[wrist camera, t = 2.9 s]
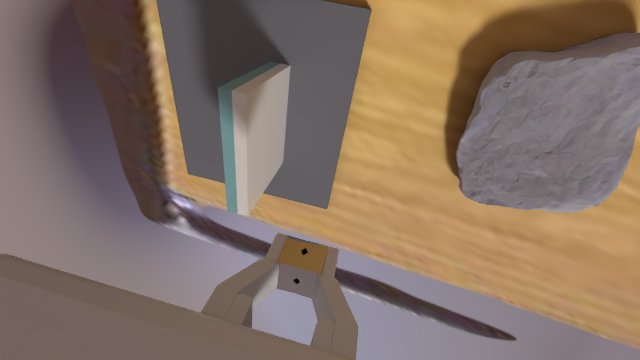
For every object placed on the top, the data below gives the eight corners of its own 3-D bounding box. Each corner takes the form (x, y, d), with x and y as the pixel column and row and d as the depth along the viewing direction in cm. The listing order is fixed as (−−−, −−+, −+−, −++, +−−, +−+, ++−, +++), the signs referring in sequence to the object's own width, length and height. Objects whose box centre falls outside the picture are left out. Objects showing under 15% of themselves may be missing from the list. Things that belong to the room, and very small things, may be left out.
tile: (271, 61, 20) (217, 87, 14) (290, 65, 20) (245, 94, 14) (267, 158, 26) (227, 210, 19) (283, 162, 25) (247, 216, 19)
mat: (157, -31, 19) (150, -32, 19) (371, 9, 18) (371, 9, 17) (191, 171, 29) (187, 173, 29) (327, 205, 28) (326, 209, 28)
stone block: (450, 180, 26) (584, 190, 22) (449, 209, 22) (611, 228, 18) (466, 47, 20) (655, 26, 16) (468, 56, 16) (716, 32, 12)
